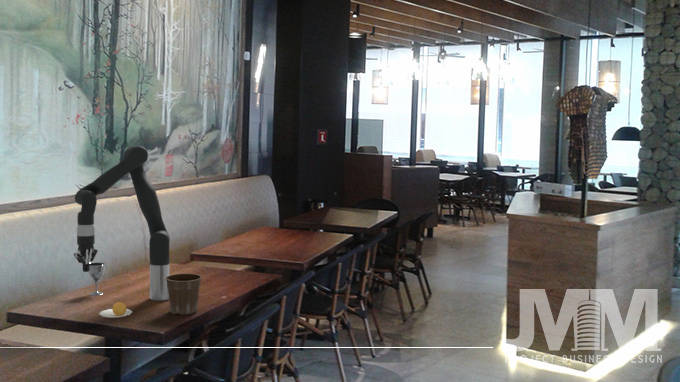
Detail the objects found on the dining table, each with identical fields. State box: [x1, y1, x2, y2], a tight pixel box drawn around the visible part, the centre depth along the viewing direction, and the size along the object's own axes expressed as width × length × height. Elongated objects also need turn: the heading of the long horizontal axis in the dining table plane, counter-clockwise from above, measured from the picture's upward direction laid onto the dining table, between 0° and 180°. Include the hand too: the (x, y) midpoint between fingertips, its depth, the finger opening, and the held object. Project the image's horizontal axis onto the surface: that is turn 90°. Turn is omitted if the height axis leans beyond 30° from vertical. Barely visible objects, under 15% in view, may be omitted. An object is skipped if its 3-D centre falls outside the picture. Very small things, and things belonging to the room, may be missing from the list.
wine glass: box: [88, 261, 106, 297], centre depth 347 cm, size 8×8×15 cm
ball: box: [111, 301, 128, 316], centre depth 311 cm, size 6×6×6 cm
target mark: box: [99, 308, 133, 318], centre depth 315 cm, size 14×14×1 cm
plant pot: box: [165, 273, 203, 316], centre depth 320 cm, size 16×16×16 cm
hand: (86, 271), depth 320 cm, fingers closed
